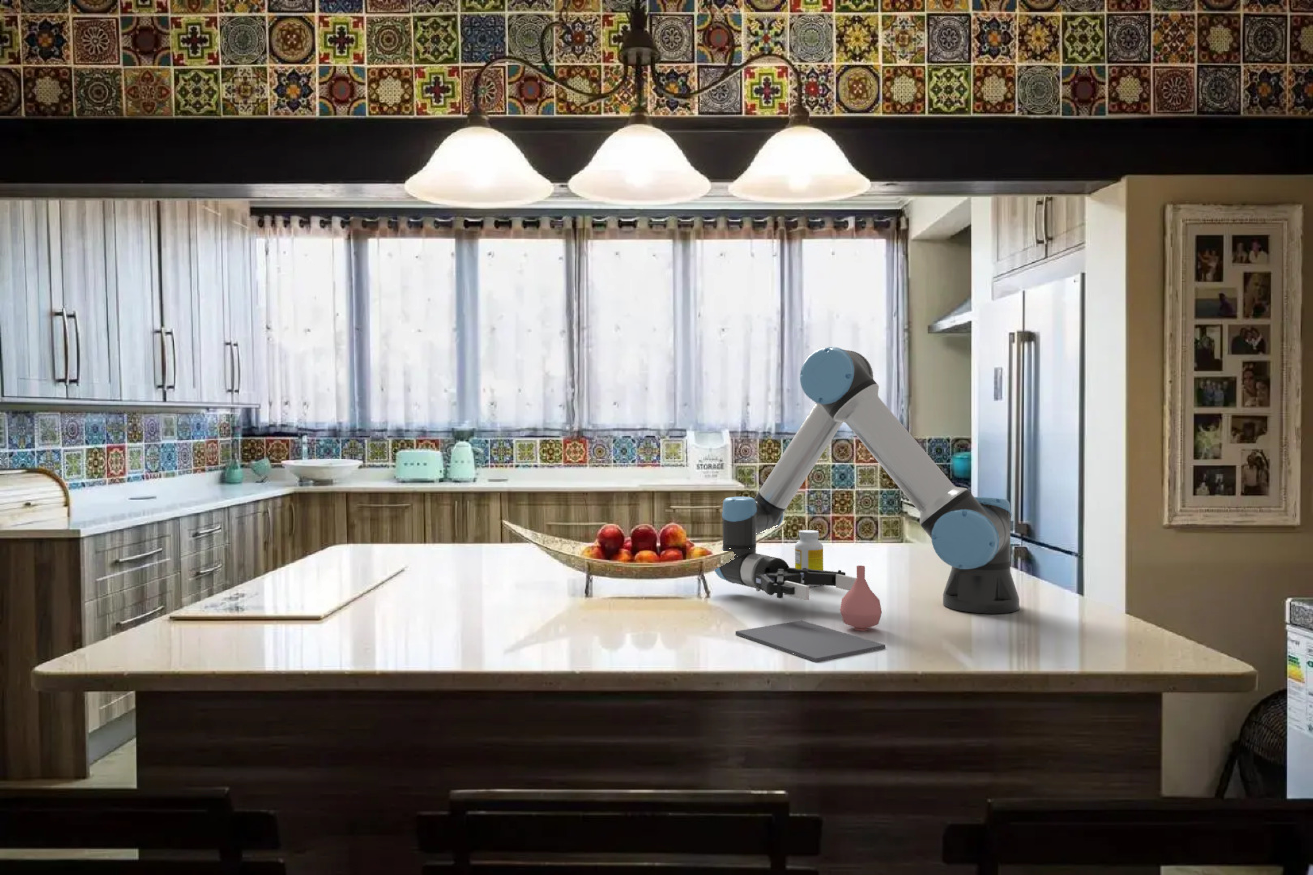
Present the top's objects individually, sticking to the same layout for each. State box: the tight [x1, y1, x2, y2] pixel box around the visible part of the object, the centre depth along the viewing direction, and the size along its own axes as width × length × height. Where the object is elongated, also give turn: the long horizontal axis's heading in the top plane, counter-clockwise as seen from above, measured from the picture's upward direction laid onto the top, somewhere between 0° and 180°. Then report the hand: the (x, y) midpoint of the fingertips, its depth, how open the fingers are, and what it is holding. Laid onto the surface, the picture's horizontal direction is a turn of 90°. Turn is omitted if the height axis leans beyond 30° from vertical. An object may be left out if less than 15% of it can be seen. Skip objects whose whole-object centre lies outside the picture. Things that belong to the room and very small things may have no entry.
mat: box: [735, 619, 886, 663], centre depth 161 cm, size 16×22×1 cm
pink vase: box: [839, 565, 882, 632], centre depth 169 cm, size 8×8×12 cm
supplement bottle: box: [794, 529, 824, 588], centre depth 213 cm, size 7×7×13 cm
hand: (834, 589), depth 175 cm, fingers open, 13 cm apart
